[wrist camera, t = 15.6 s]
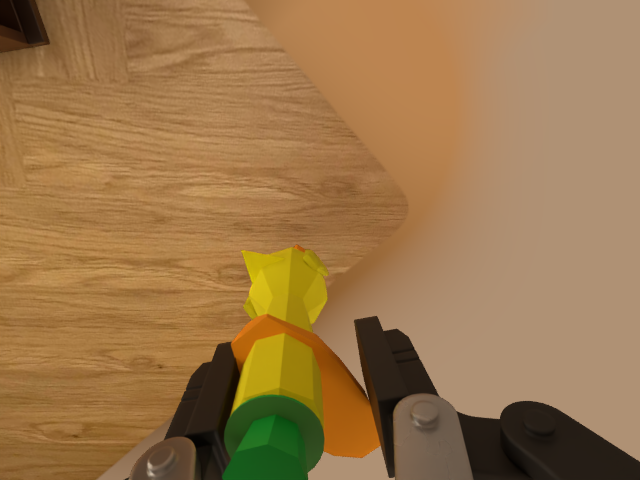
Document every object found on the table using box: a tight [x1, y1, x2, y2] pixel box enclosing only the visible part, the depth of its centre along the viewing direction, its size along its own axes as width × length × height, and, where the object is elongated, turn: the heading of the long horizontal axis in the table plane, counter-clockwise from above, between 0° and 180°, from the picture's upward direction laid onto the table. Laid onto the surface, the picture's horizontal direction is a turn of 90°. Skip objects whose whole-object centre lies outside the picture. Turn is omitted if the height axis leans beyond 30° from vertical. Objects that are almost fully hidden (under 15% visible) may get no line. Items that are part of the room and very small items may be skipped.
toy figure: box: [222, 245, 381, 480], centre depth 13 cm, size 7×4×12 cm, turn 40°
